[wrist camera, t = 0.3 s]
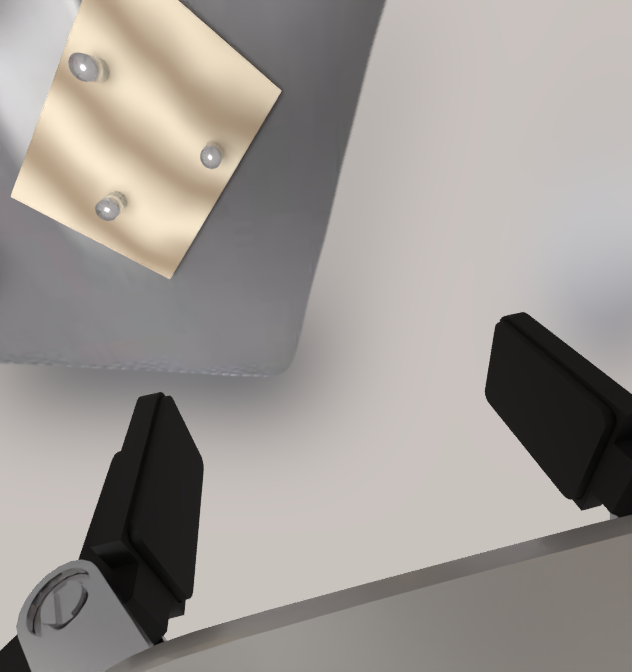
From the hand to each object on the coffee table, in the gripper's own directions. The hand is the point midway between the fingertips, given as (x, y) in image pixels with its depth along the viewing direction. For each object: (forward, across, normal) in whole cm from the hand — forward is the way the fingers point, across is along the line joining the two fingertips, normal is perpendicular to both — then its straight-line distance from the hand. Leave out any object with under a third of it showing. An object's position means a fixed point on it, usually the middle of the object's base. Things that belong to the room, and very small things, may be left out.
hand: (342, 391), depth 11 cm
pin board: (+30, +10, -5) cm, 32 cm away
